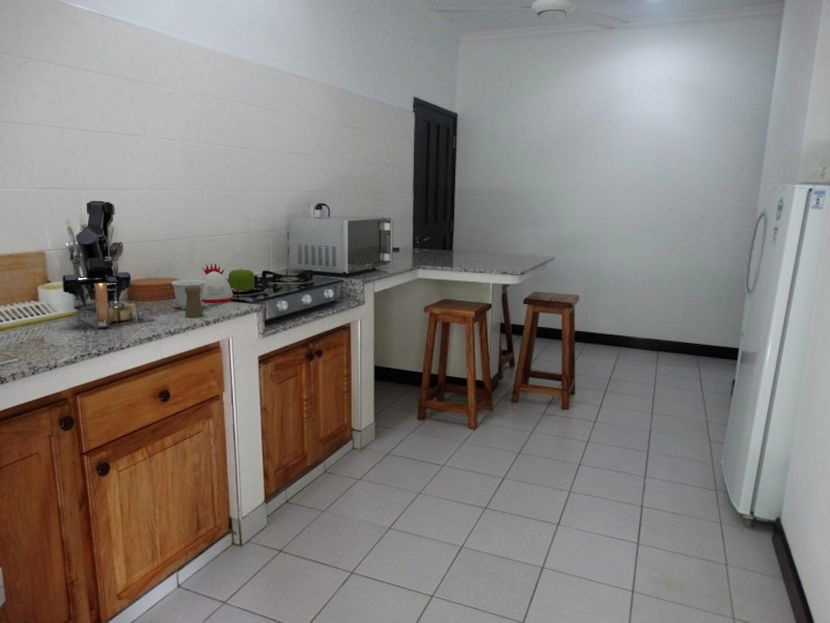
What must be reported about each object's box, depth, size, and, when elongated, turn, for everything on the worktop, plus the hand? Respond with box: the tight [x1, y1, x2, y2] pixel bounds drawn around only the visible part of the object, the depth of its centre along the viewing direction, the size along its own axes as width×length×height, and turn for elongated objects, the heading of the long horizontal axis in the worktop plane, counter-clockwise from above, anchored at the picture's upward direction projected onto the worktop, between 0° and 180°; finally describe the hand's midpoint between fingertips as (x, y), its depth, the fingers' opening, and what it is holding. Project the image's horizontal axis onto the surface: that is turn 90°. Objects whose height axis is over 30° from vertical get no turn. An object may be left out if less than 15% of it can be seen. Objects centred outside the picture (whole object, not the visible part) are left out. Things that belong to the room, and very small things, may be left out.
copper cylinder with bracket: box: [94, 282, 137, 326], centre depth 186 cm, size 20×11×14 cm, turn 11°
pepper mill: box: [184, 285, 204, 319], centre depth 200 cm, size 6×6×11 cm
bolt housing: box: [78, 299, 156, 329], centre depth 192 cm, size 18×18×6 cm
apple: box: [227, 267, 255, 290], centre depth 250 cm, size 11×11×11 cm
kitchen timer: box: [201, 263, 234, 304], centre depth 230 cm, size 14×14×15 cm
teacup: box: [170, 279, 206, 310], centre depth 212 cm, size 12×15×10 cm
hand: (101, 303), depth 178 cm, fingers open, 9 cm apart
